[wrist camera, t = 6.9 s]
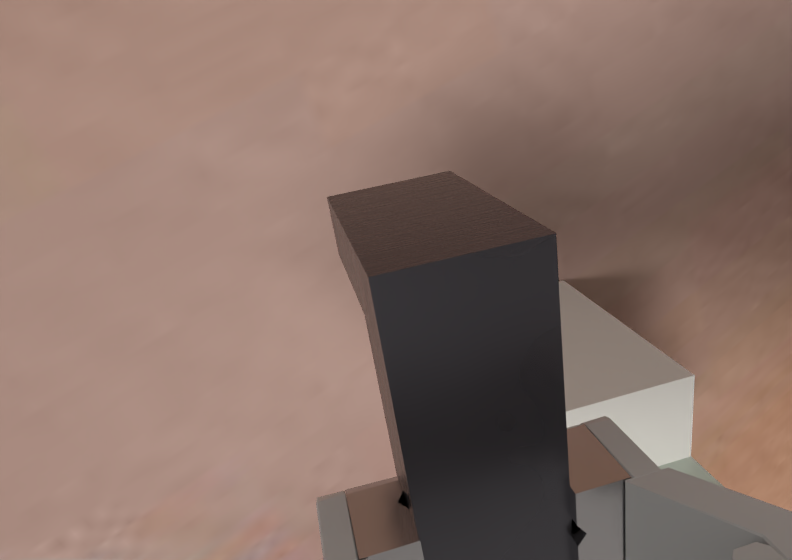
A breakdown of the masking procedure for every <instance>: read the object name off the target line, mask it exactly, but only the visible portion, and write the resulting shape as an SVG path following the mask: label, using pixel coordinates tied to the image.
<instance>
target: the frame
mask: <svg viewBox="0 0 792 560" xmlns="http://www.w3.org/2000/svg"><path fill="white" fill-rule="evenodd" d="M327 199H328V204H329V209H330V214H331V218H332V223H333V228H334V233H335V237H336V242H337V247H338V252H339V255H340V258H341V260H342V263H343V265H344V267H345V270H346V272H347V274H348V277H349V279H350V281H351V284H352V286H353V288H354V291H355V293H356V295H357V298H358V300H359V303H360V305H361V307H362V310H363V312H364V314H365V319H366V324H367V329H368V334H369V339H370V344H371V349H372V354H373V359H374V364H375V369H376V374H377V379H378V384H379V389H380V394H381V399H382V404H383V409H384V414H385V418H386V423H387V428H388V433H389V438H390V443H391V448H392V453H393V458H394V463H395V468H396V473H397V476H398V478H399V480H400V483H401V486H402V488H403V492H404V497H405V502H406V507H407V508H408V509H410V512H411V515H412V518H413V521H414V524H415V526H416V529H417V532H418V535H419V538H420V542H421V547H422V551H423V556H424V560H573V548H572V536H573V534H572V518H571V512H570V491H569V485H570V479H569V461H568V443H567V425H566V407H565V388H564V370H563V352H562V334H561V315H560V297H559V279H558V261H557V243H556V233H555V232H553V231H551V230H550V229H548V228H546V227H545V226H543V225H541V224H539V223H538V222H536V221H534V220H533V219H531V218H529V217H527V216H526V215H524V214H522V213H521V212H519V211H517V210H516V209H514V208H512V207H510V206H509V205H507V204H505V203H504V202H502V201H500V200H499V199H497V198H495V197H493V196H492V195H490V194H488V193H487V192H485V191H483V190H481V189H480V188H478V187H476V186H475V185H473V184H471V183H470V182H468V181H466V180H464V179H463V178H461V177H459V176H458V175H456V174H454V173H453V172H451V171H448V172H443V173H438V174H433V175H429V176H424V177H419V178H415V179H410V180H405V181H400V182H396V183H391V184H386V185H382V186H377V187H372V188H367V189H363V190H358V191H353V192H348V193H344V194H339V195H334V196H330V197H327Z"/></svg>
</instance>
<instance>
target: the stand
mask: <svg viewBox="0 0 792 560" xmlns="http://www.w3.org/2000/svg"><path fill="white" fill-rule="evenodd" d="M559 297H560V315H561V334H562V352H563V370H564V388H565V407H566V425H567V428H568V427H572V426H575V425H580V423H583V422H587V421H590V420H593V419H596V418H600V417H603V416H606V417H608V418H610V419H611V420H612V421H613V422H614V423H615V424H616V425H617V426H618V427H619V428H620V429H621V430H622V431H623V432H624V433H625V434H626V435H627V436H628V437H629V438H630V439H631V440H632V441H633V442H634V443H635V444H636V445H637V446H638V447H639V448H640V449H641V450H642V451H643V452H644V453H645V454H646V455H647V456H648V457H649V458H650V459H651V460H652V461H653V462H654V463H655V464H656V465H657V466H658V467H659V468H660V469H664V468H668V467H669V468H672V469H674V470H677V471H680V472H683V473H686V474H688V475H691V476H694V477H697V478H700V479H702V480H705V481H708V482H711V483H713V484H716V485H719V486H722V487H724V486H723V485H722V484H720V483H719V482H718V481H717V480H716V479H715V478H714V477H713V476H712V475H711V474H710V473H708V472H707V471H706V470H705V469H704V468H703V467H702V466H701V465H700V464H699V463H698V462H696V461H695V460H694V459H693V458H692V457H691V443H692V421H693V400H694V379H695V375H694V374H692V373H691V372H690V371H688V370H687V369H685V368H684V367H683V366H681V365H680V364H678V363H677V362H676V361H674V360H673V359H672V358H670V357H669V356H667V355H666V354H665V353H663V352H662V351H661V350H659V349H658V348H656V347H655V346H654V345H652V344H651V343H649V342H648V341H647V340H645V339H644V338H643V337H641V336H640V335H638V334H637V333H636V332H634V331H633V330H632V329H630V328H629V327H627V326H626V325H625V324H623V323H622V322H620V321H619V320H618V319H616V318H615V317H614V316H612V315H611V314H609V313H608V312H607V311H605V310H604V309H603V308H601V307H600V306H598V305H597V304H596V303H594V302H593V301H591V300H590V299H589V298H587V297H586V296H585V295H583V294H582V293H580V292H579V291H578V290H576V289H575V288H574V287H572V286H571V285H569V284H568V283H567V282H565V281H564V280H563V281H559Z"/></svg>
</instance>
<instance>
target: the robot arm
mask: <svg viewBox="0 0 792 560" xmlns="http://www.w3.org/2000/svg"><path fill="white" fill-rule="evenodd" d="M567 443H568V461H569V479H570V485H569V491H570V512H571V518H572V534H573V536H572V548H573V560H792V511H789V510H786V509H783V508H780V507H778V506H775V505H772V504H769V503H766V502H764V501H761V500H758V499H755V498H752V497H750V496H747V495H744V494H741V493H739V492H736V491H733V490H730V489H727V488H725V487H722V486H719V485H716V484H713V483H711V482H708V481H705V480H702V479H700V478H697V477H694V476H691V475H688V474H686V473H683V472H680V471H677V470H674V469H672V468H669V467H668V468H664V469H660V468H659V467H658V466H657V465H656V464H655V463H654V462H653V461H652V460H651V459H650V458H649V457H648V456H647V455H646V454H645V453H644V452H643V451H642V450H641V449H640V448H639V447H638V446H637V445H636V444H635V443H634V442H633V441H632V440H631V439H630V438H629V437H628V436H627V435H626V434H625V433H624V432H623V431H622V430H621V429H620V428H619V427H618V426H617V425H616V424H615V423H614V422H613V421H612V420H611V419H610V418H608V417H606V416H603V417H600V418H596V419H593V420H590V421H587V422H583V423H580V425H575V426H572V427H568V428H567ZM345 492H346V494H345ZM316 506H317V514H318V521H319V529H320V537H321V545H322V552H323V560H424V556H423V551H422V547H421V542H420V538H419V535H418V532H417V529H416V526H415V524H414V521H413V518H412V515H411V512H410V509H408V508H407V507H406V502H405V497H404V492H403V488H402V486H401V483H400V480H399V478H398V476H397V477H393V478H389V479H385V480H381V481H378V482H374V483H370V484H366V485H362V486H358V487H354V488H350V489H347V490H345V491H341V492H337V493H333V494H329V495H326V496H322V497H318V498H317V502H316Z"/></svg>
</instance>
